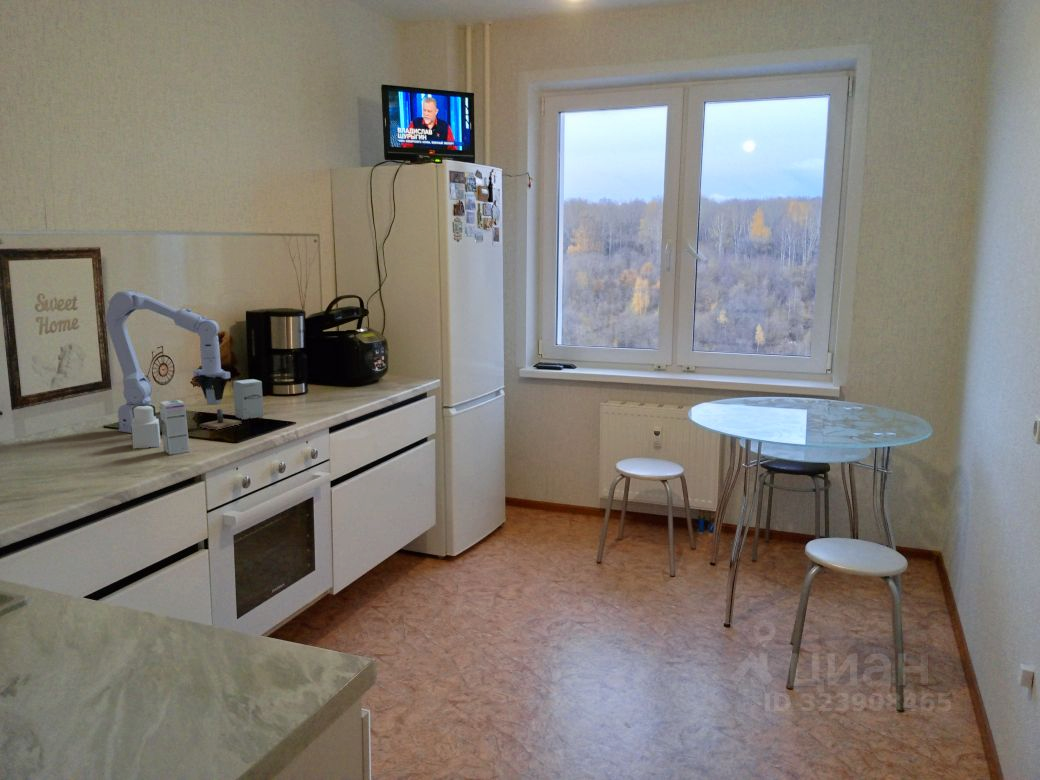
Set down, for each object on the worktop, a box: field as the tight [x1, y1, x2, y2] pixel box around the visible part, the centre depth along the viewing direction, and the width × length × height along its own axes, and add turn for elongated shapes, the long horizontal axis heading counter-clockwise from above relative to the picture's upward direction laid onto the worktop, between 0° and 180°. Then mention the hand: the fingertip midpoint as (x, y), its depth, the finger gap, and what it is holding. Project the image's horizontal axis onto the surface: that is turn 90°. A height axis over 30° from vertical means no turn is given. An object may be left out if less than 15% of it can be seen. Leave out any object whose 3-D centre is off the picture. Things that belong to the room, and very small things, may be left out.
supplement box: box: [232, 378, 264, 420], centre depth 266 cm, size 7×7×13 cm
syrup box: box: [158, 399, 190, 456], centre depth 220 cm, size 6×6×14 cm
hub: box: [206, 386, 222, 406], centre depth 251 cm, size 4×4×5 cm
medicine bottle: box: [130, 404, 161, 450], centre depth 227 cm, size 7×7×12 cm
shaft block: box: [199, 408, 242, 431], centre depth 253 cm, size 10×8×6 cm
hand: (213, 399), depth 251 cm, fingers closed on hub, 4 cm apart
